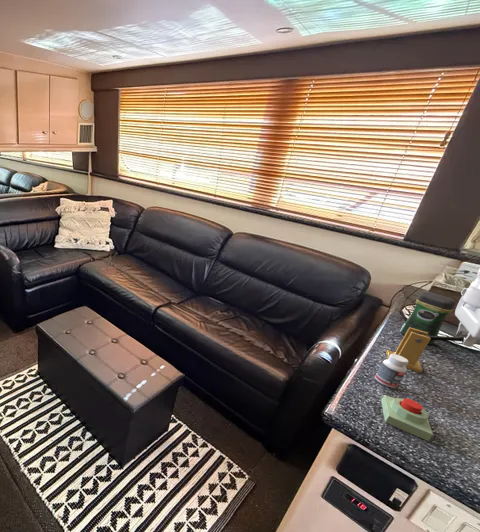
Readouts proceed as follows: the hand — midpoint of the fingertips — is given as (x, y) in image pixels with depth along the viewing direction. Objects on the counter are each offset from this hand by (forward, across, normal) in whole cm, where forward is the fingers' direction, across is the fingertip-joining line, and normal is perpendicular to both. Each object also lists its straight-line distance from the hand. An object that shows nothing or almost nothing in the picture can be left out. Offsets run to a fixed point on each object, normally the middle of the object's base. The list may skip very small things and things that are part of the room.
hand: (463, 340), depth 97 cm
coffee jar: (+13, +28, +2) cm, 31 cm away
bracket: (+13, 0, +9) cm, 16 cm away
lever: (+2, 0, +4) cm, 5 cm away
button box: (+13, -36, +13) cm, 41 cm away
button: (+10, -36, +13) cm, 40 cm away
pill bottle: (+13, -19, +15) cm, 28 cm away
